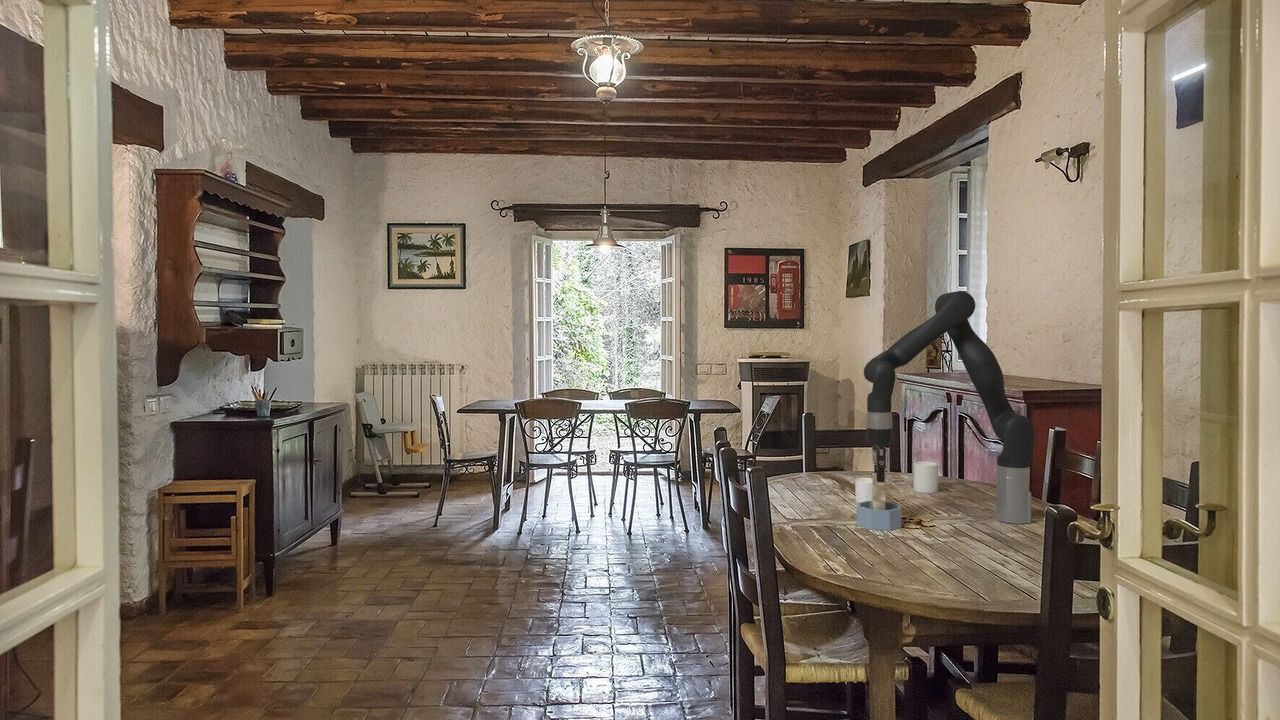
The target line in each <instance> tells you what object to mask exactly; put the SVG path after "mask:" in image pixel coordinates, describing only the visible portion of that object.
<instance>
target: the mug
mask: <svg viewBox="0 0 1280 720" xmlns="http://www.w3.org/2000/svg"><path fill="white" fill-rule="evenodd" d="M938 488H939V464H938V462H937V463H936V462H933V461H916V462H914V463H913V491H914V492H915V493H918V494H925V495H932V494H934V495H935V494H937V493H938V491H939V489H938Z"/></svg>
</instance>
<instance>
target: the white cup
mask: <svg viewBox="0 0 1280 720" xmlns="http://www.w3.org/2000/svg"><path fill="white" fill-rule="evenodd" d="M854 490H855V491H854V492H855V503H856V505H857V503H858V502H863V501H872V477H857V478H855V479H854Z"/></svg>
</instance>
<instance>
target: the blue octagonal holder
mask: <svg viewBox="0 0 1280 720" xmlns="http://www.w3.org/2000/svg"><path fill="white" fill-rule="evenodd" d="M856 524H857V527H860V528H863V529H867V530H871V531H883V532H884V531H888V532H891V531H896V530H900V529H902V507H901V505H900V504H898V503H896V502H895V503H894V502H891V501H886V500H885V510H874V509H872V501H863V502H858V503H857V504H856Z"/></svg>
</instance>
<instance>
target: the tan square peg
mask: <svg viewBox="0 0 1280 720" xmlns="http://www.w3.org/2000/svg"><path fill="white" fill-rule="evenodd" d="M871 474H872V477H871V478H872V509H874V510H885V501H886V488H887V487H886V486H887V485H886V483H887V482H886V478H887V477H886V474H885V481H884V482H877V473H874V472H873V473H871Z"/></svg>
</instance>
